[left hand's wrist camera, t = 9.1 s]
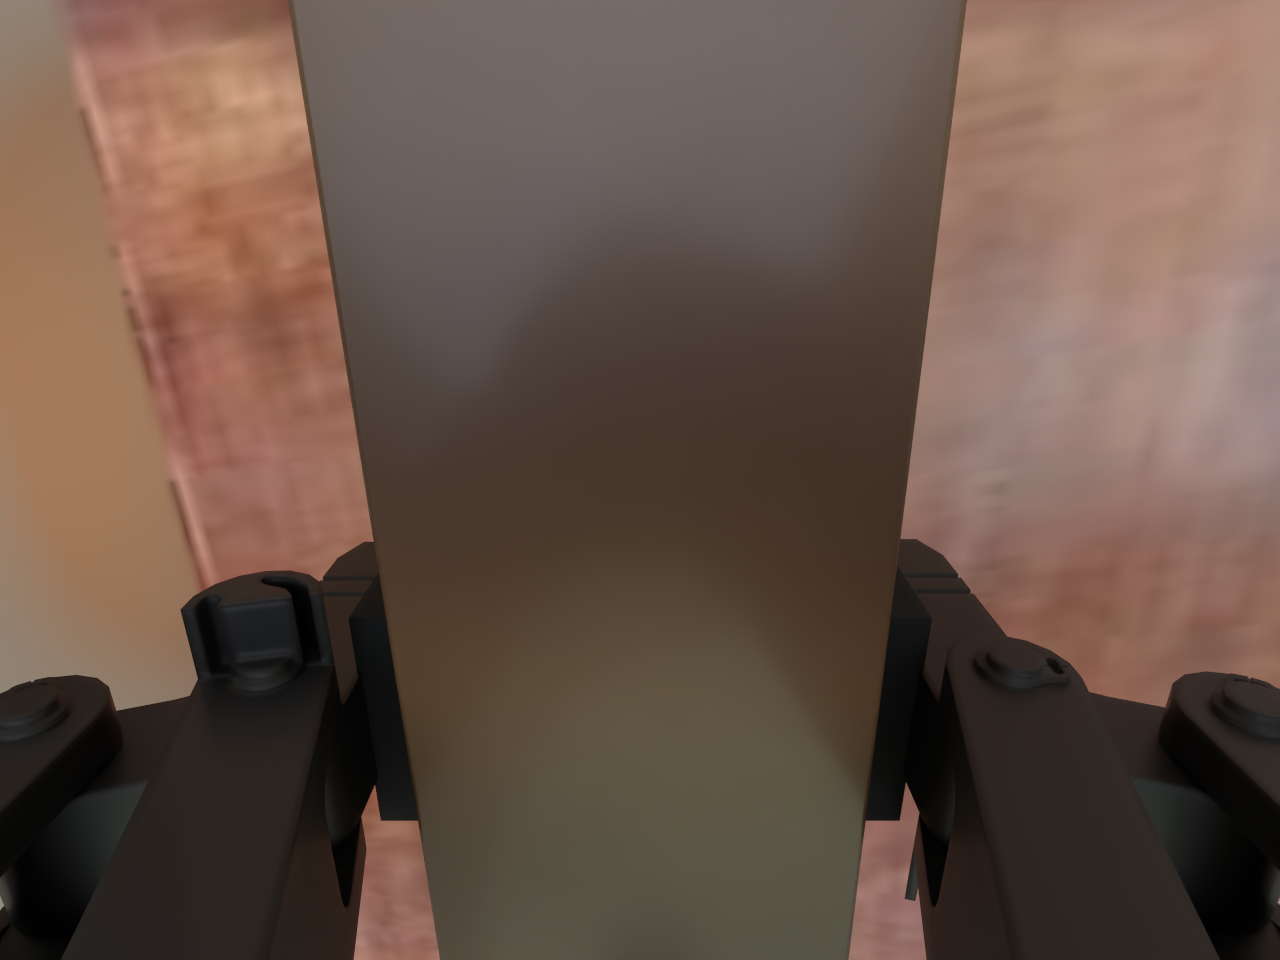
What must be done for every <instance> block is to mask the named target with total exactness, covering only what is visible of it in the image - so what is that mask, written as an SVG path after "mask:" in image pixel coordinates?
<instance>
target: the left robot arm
mask: <svg viewBox="0 0 1280 960" xmlns="http://www.w3.org/2000/svg"><path fill="white" fill-rule="evenodd" d="M181 613H182V617H183V621H184V625H185V629H186V633H187V637H188V641H189V645H190V649H191V653H192V657H193V661H194V665H195V669H196V673H197V677H198V681H197V683H196V685H195V687H194V689H193V691H192V693H191V695H190V696H188V697H184V698H180V699H176V700H171V701H166V702H161V703H155V704H150V705H145V706H140V707H134V708H129V709H124V710H119V711H116V709H115V705H114V702H113V699H112V696H111V692H110V689H109V687H108V686H107V685H106V684H104V683H103V682H102V681H100V680H99V679H98V678H92V677H86V676H79V675H72V676H62V677H47V678H42V679H37V680H35V681H34V682H31V681H29V682H26V683H23V684H20V685H16V686H14V687H12V688H11V689H9V690H8V691H5V692H3V693H1V694H0V896H1V899H2V901H3V903H4V907H3V908H2V909H1V910H0V960H353V959H354V951H355V942H356V934H357V925H358V917H359V908H360V900H361V891H362V883H363V874H364V866H365V857H366V843H365V836H364V830H363V824H362V819H361V815H362V813H363V811H364V809H365V806H366V804H367V802H368V799H369V797H370V795H371V792H372V790H373V788H374V785H375V786H376V792H377V799H378V805H379V811H380V817H381V821H418V816H417V810H416V804H415V797H414V791H413V785H412V778H411V772H410V766H409V760H408V753H407V747H406V741H405V734H404V728H403V722H402V715H401V709H400V703H399V697H398V690H397V684H396V678H395V671H394V665H393V659H392V653H391V646H390V640H389V634H388V627H387V621H386V615H385V608H384V602H383V596H382V590H381V583H380V577H379V571H378V564H377V558H376V552H375V546H374V542H363V543H362V544H360V545H359V546H357V547H355V548H354V549H352V550H350V551H349V552H347V553H345V554H344V555H342V556H340V557H339V558H338V559H337V560H336V561H335V562H334V564H333V565H332V566H331V567H330V569H329V570H328V571H327V573H326V574H325V575H324V576H323V581H320V582H319V581H317V580H316V579H315V578H313V577H312V576H310V575H308V574H303V573H299V572H294V571H264V572H259V573H253V574H248V575H242V576H238V577H235V578H232V579H229V580H226V581H224V582H221V583H218V584H215V585H213V586H211V587H209V588H208V589H206V590H204V591H202V592H200V593H199V594H197V595H195V596H193V597H192V598H191V599H190V600H189V601H188V602H187V604H186V605H185V606H184V607H183V608H182V609H181ZM906 783H907V785H908V787H909V789H910V792H911V794H912V796H913V799H914V801H915V803H916V805H917V808H918V810H919V812H920V813H919V819H918V824H917V830H916V836H915V842H914V847H913V853H912V859H911V865H910V871H909V876H908V882H907V889H906V895H905V899H908V900H913V901H915V899H916V894H917V889H919V898H920V906H921V915H922V923H923V932H924V940H925V949H926V957H927V960H1280V905H1279V904H1278V901H1279V898H1280V689H1278V688H1276V687H1273V686H1272V685H1271V684H1269V683H1267V682H1264V681H1261V680H1258V679H1255V678H1251V679H1249V678H1248V677H1247V676H1242V675H1237V674H1225V673H1215V672H1199V673H1192V674H1186V675H1183V676H1182V677H1181V678H1179V679H1178V680H1177V681H1175V682H1174V683H1173V685H1172V688H1171V691H1170V695H1169V698H1168V701H1167V705H1166V708H1164V707H1159V706H1154V705H1149V704H1143V703H1138V702H1133V701H1128V700H1122V699H1117V698H1112V697H1107V696H1103V695H1099V694H1095V693H1091V692H1089V691H1088V689H1087V687H1086V685H1085V683H1084V681H1083V679H1082V678H1081V676H1080V675H1079V674H1078V673H1077V671H1076V670H1075V669H1074V668H1073V667H1072V665H1071V664H1070V663H1068V662H1067V661H1065V660H1064V659H1062V658H1061V657H1059V656H1058V655H1056V654H1055V653H1053V652H1052V651H1050V650H1048V649H1045V648H1043V647H1040V646H1038V645H1035V644H1033V643H1030V642H1028V641H1025V640H1020V639H1015V638H1011V637H1007V636H1006V634H1005V633H1004V632H1003V631H1002V629H1001V628H1000V627H999V626H998V624H997V623H996V622H995V620H994V619H993V618H992V617H991V615H990V614H989V613H988V612H987V610H986V609H985V608H984V607H983V605H982V604H981V603H980V601H979V600H978V599H977V598H976V596H975V595H974V594H970V589H969V588H968V586H967V585H966V584H965V582H964V581H963V580H962V579H961V578H958V574H957V572H956V571H955V570H954V569H953V567H952V566H951V565H950V564H949V562H948V561H947V560H946V558H945V557H944V556H943V555H942V554H940V553H938V552H937V551H935V550H933V549H932V548H930V547H928V546H927V545H925V544H923V543H922V542H920V541H918V540H917V539H900V545H899V553H898V561H897V569H896V577H895V585H894V593H893V602H892V610H891V618H890V626H889V634H888V642H887V650H886V658H885V666H884V674H883V683H882V691H881V699H880V707H879V715H878V723H877V731H876V739H875V747H874V755H873V763H872V772H871V780H870V788H869V796H868V804H867V812H866V820H885V821H900V814H901V808H902V802H903V796H904V790H905V784H906Z"/></svg>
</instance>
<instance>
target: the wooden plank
mask: <svg viewBox="0 0 1280 960" xmlns="http://www.w3.org/2000/svg"><path fill="white" fill-rule="evenodd" d="M966 3H967V0H288V4H289V11H290V17H291V23H292V29H293V36H294V42H295V48H296V55H297V61H298V67H299V73H300V80H301V86H302V92H303V99H304V105H305V111H306V118H307V124H308V130H309V136H310V143H311V149H312V155H313V162H314V168H315V174H316V180H317V187H318V193H319V199H320V206H321V212H322V218H323V225H324V231H325V237H326V243H327V250H328V256H329V262H330V269H331V275H332V281H333V287H334V294H335V300H336V306H337V313H338V319H339V325H340V332H341V338H342V344H343V350H344V357H345V363H346V369H347V376H348V382H349V388H350V394H351V401H352V407H353V413H354V420H355V426H356V432H357V439H358V445H359V451H360V457H361V464H362V470H363V476H364V483H365V489H366V495H367V501H368V508H369V514H370V520H371V527H372V533H373V539H374V546H375V552H376V558H377V564H378V571H379V577H380V583H381V590H382V596H383V602H384V608H385V615H386V621H387V627H388V634H389V640H390V646H391V653H392V659H393V665H394V671H395V678H396V684H397V690H398V697H399V703H400V709H401V715H402V722H403V728H404V734H405V741H406V747H407V753H408V760H409V766H410V772H411V778H412V785H413V791H414V797H415V804H416V810H417V816H418V822H419V829H420V835H421V841H422V848H423V854H424V860H425V867H426V873H427V879H428V885H429V892H430V898H431V904H432V911H433V917H434V923H435V929H436V936H437V942H438V948H439V955H440V960H848V958H849V950H850V942H851V933H852V925H853V917H854V909H855V901H856V893H857V885H858V877H859V869H860V861H861V852H862V844H863V836H864V828H865V820H866V812H867V804H868V796H869V788H870V780H871V772H872V763H873V755H874V747H875V739H876V731H877V723H878V715H879V707H880V699H881V691H882V683H883V674H884V666H885V658H886V650H887V642H888V634H889V626H890V618H891V610H892V602H893V593H894V585H895V577H896V569H897V561H898V553H899V545H900V537H901V529H902V521H903V513H904V504H905V496H906V488H907V480H908V472H909V464H910V456H911V448H912V440H913V432H914V424H915V415H916V407H917V399H918V391H919V383H920V375H921V367H922V359H923V351H924V343H925V334H926V326H927V318H928V310H929V302H930V294H931V286H932V278H933V270H934V262H935V254H936V245H937V237H938V229H939V221H940V213H941V205H942V197H943V189H944V181H945V173H946V165H947V156H948V148H949V140H950V132H951V124H952V116H953V108H954V100H955V92H956V84H957V75H958V67H959V59H960V51H961V43H962V35H963V27H964V19H965V11H966Z"/></svg>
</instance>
